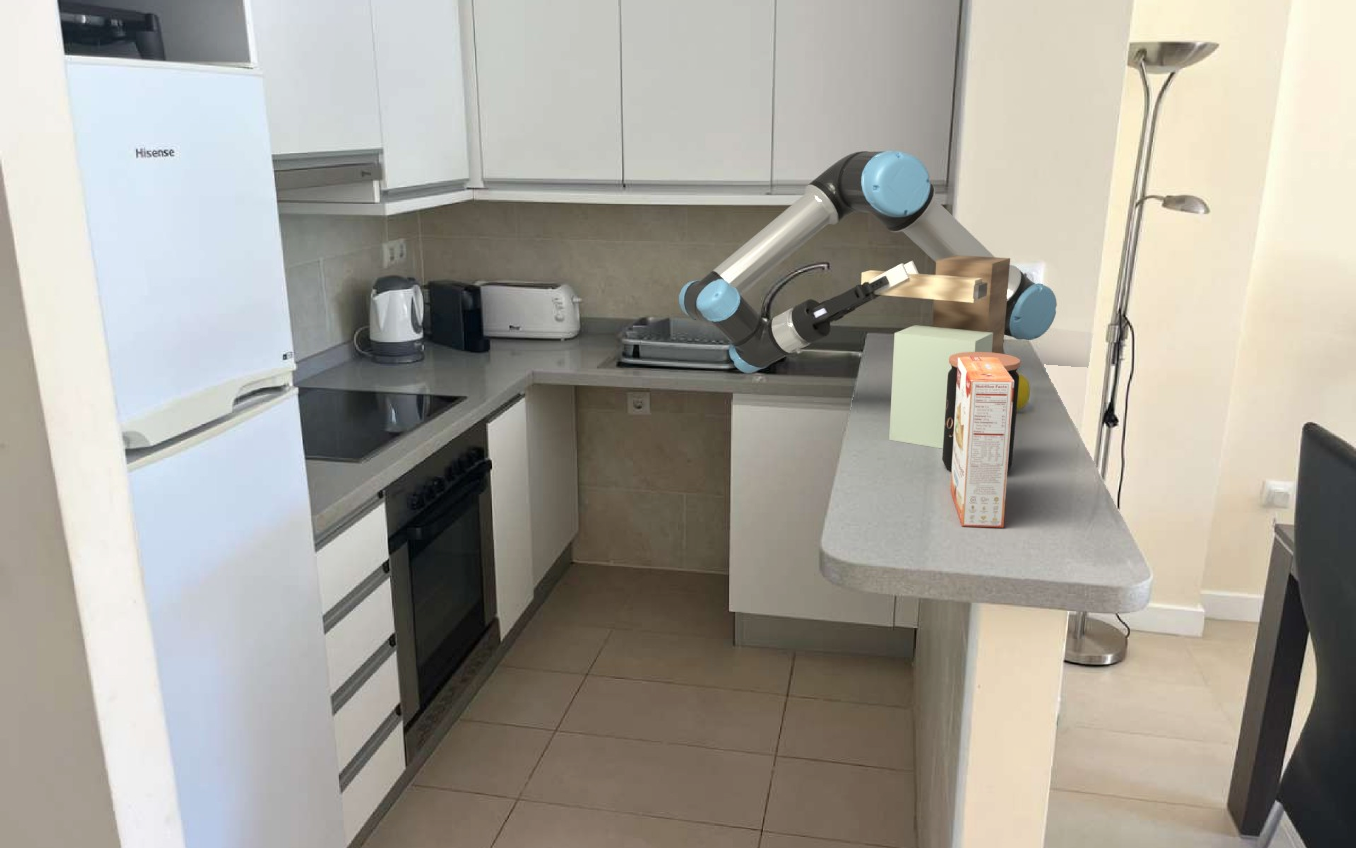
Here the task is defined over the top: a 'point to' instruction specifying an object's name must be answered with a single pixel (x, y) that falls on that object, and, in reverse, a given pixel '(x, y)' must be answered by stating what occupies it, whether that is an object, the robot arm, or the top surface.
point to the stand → (983, 312)
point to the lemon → (1022, 392)
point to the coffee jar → (1006, 360)
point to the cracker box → (981, 441)
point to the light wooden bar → (934, 287)
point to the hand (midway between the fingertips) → (910, 269)
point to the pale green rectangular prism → (926, 380)
